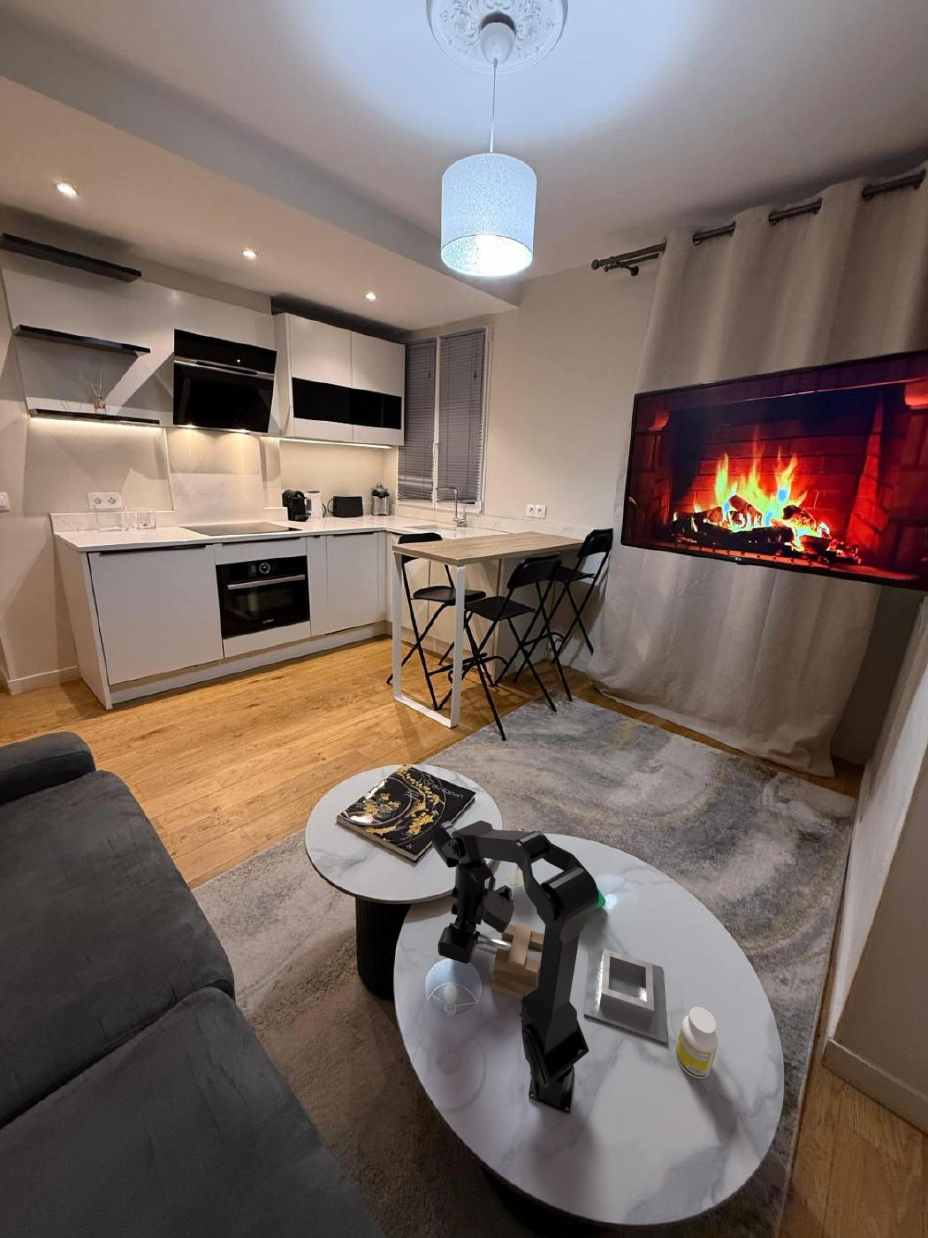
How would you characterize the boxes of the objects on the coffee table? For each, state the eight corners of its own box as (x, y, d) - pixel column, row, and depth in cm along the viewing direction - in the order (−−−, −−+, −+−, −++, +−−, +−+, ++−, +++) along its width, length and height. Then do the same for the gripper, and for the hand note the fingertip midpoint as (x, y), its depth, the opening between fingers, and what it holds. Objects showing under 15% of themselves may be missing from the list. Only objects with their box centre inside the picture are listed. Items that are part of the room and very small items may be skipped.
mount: (533, 1004, 90) (536, 975, 88) (491, 989, 92) (493, 960, 90) (542, 954, 99) (545, 927, 97) (503, 942, 101) (506, 915, 99)
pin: (543, 960, 95) (544, 949, 94) (540, 974, 92) (542, 963, 91) (457, 932, 100) (457, 921, 99) (452, 944, 97) (452, 933, 96)
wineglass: (516, 862, 121) (520, 823, 118) (536, 880, 116) (541, 839, 113) (496, 876, 117) (499, 835, 114) (516, 895, 112) (520, 853, 109)
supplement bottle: (692, 1037, 85) (702, 997, 82) (718, 1072, 81) (729, 1031, 78) (668, 1049, 83) (677, 1009, 80) (692, 1086, 79) (704, 1044, 76)
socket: (666, 1045, 84) (670, 1031, 83) (583, 1016, 88) (586, 1001, 87) (662, 969, 97) (665, 956, 96) (589, 947, 101) (591, 933, 100)
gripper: (499, 939, 82) (494, 1005, 87) (521, 858, 99) (516, 917, 104) (437, 919, 85) (435, 984, 90) (469, 844, 102) (466, 902, 107)
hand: (467, 944), depth 98 cm, fingers closed on pin, 3 cm apart
